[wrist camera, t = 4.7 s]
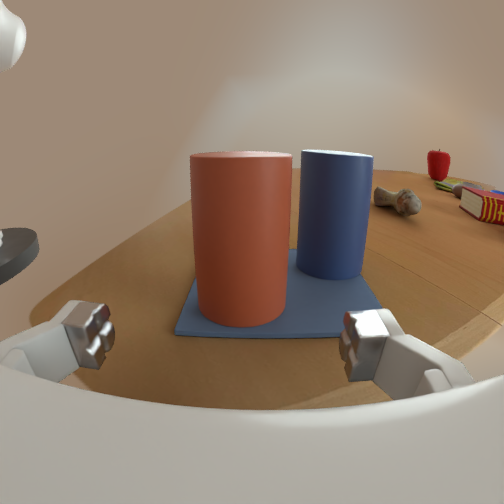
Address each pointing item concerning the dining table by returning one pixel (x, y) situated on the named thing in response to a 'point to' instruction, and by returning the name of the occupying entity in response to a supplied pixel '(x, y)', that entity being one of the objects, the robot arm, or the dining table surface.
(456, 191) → the egg
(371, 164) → the blue canister
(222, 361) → the dining table surface
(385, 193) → the weathered bone fragment
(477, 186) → the dish towel
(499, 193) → the bowl
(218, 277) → the terracotta canister
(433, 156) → the apple
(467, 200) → the book
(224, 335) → the blue mat
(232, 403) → the dining table surface
